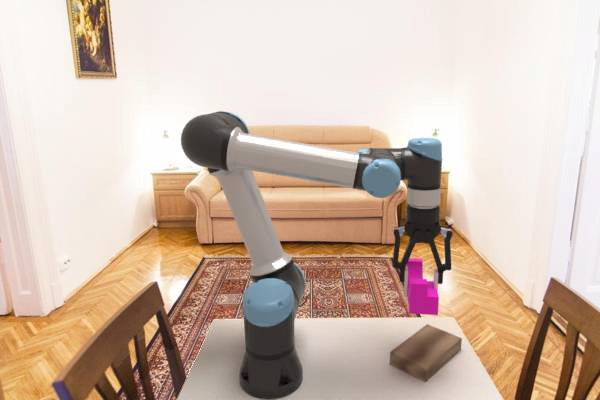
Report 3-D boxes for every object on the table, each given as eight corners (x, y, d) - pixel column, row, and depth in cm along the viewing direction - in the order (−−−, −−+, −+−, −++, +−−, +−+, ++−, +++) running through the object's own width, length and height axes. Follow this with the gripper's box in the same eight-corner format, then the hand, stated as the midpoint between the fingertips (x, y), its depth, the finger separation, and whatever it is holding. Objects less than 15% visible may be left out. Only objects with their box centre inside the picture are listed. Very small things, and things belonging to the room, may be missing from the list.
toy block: (437, 315, 99) (439, 284, 97) (409, 313, 100) (410, 283, 98) (430, 286, 113) (432, 259, 112) (406, 284, 114) (406, 258, 113)
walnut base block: (389, 365, 110) (390, 351, 109) (426, 336, 122) (427, 324, 121) (425, 383, 103) (426, 369, 102) (460, 351, 116) (461, 338, 115)
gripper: (464, 201, 104) (459, 289, 110) (381, 199, 108) (381, 285, 114) (469, 209, 97) (463, 304, 103) (380, 208, 101) (380, 298, 107)
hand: (420, 294), depth 109 cm, fingers closed on toy block, 6 cm apart
